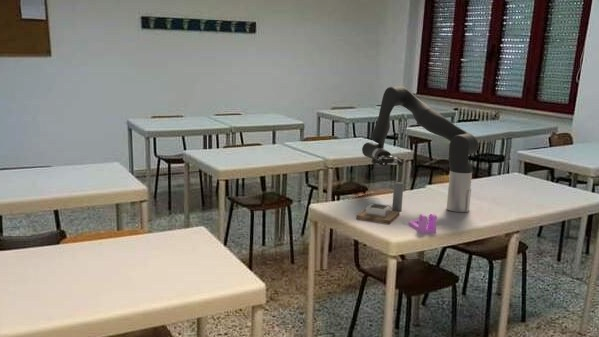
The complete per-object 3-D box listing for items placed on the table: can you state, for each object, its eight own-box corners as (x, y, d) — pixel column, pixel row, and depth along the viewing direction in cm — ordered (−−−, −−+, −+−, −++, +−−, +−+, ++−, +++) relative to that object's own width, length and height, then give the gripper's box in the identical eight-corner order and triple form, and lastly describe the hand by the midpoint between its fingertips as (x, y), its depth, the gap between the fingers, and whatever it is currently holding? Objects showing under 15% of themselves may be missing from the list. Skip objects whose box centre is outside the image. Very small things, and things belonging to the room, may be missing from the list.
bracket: (435, 233, 205) (437, 215, 204) (422, 233, 203) (424, 216, 202) (418, 222, 217) (420, 206, 216) (406, 223, 216) (407, 206, 214)
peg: (402, 209, 234) (404, 182, 232) (400, 212, 231) (402, 184, 228) (393, 208, 236) (395, 181, 233) (391, 210, 232) (392, 183, 230)
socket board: (399, 215, 226) (400, 204, 225) (389, 224, 214) (390, 213, 213) (367, 210, 232) (367, 200, 231) (356, 218, 219) (356, 208, 218)
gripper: (367, 148, 254) (376, 155, 239) (396, 149, 256) (407, 155, 241) (366, 164, 256) (375, 172, 240) (395, 164, 258) (406, 172, 242)
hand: (391, 163), depth 240 cm, fingers open, 8 cm apart
